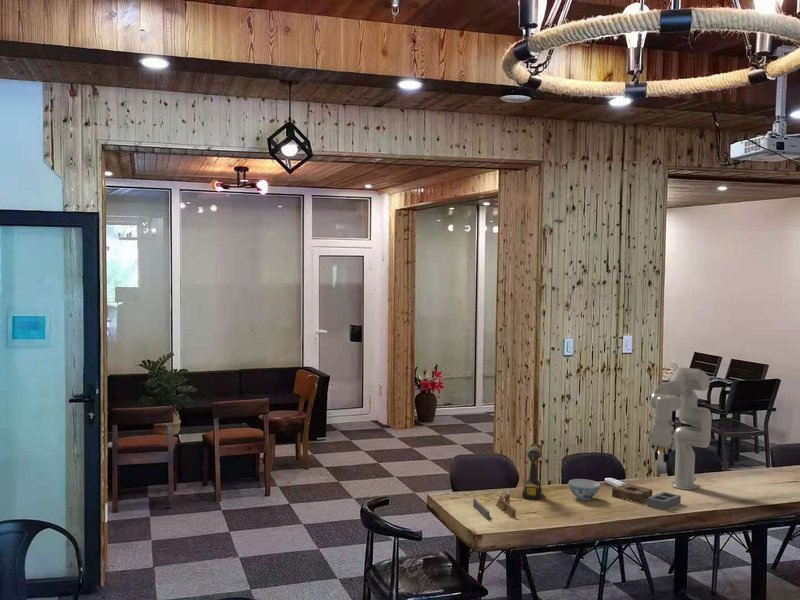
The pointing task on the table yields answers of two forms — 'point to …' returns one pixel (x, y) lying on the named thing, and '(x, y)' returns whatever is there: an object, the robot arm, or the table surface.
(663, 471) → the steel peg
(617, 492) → the socket block
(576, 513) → the table surface
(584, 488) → the chinaware
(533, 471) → the power drill
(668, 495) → the gray cinder block
